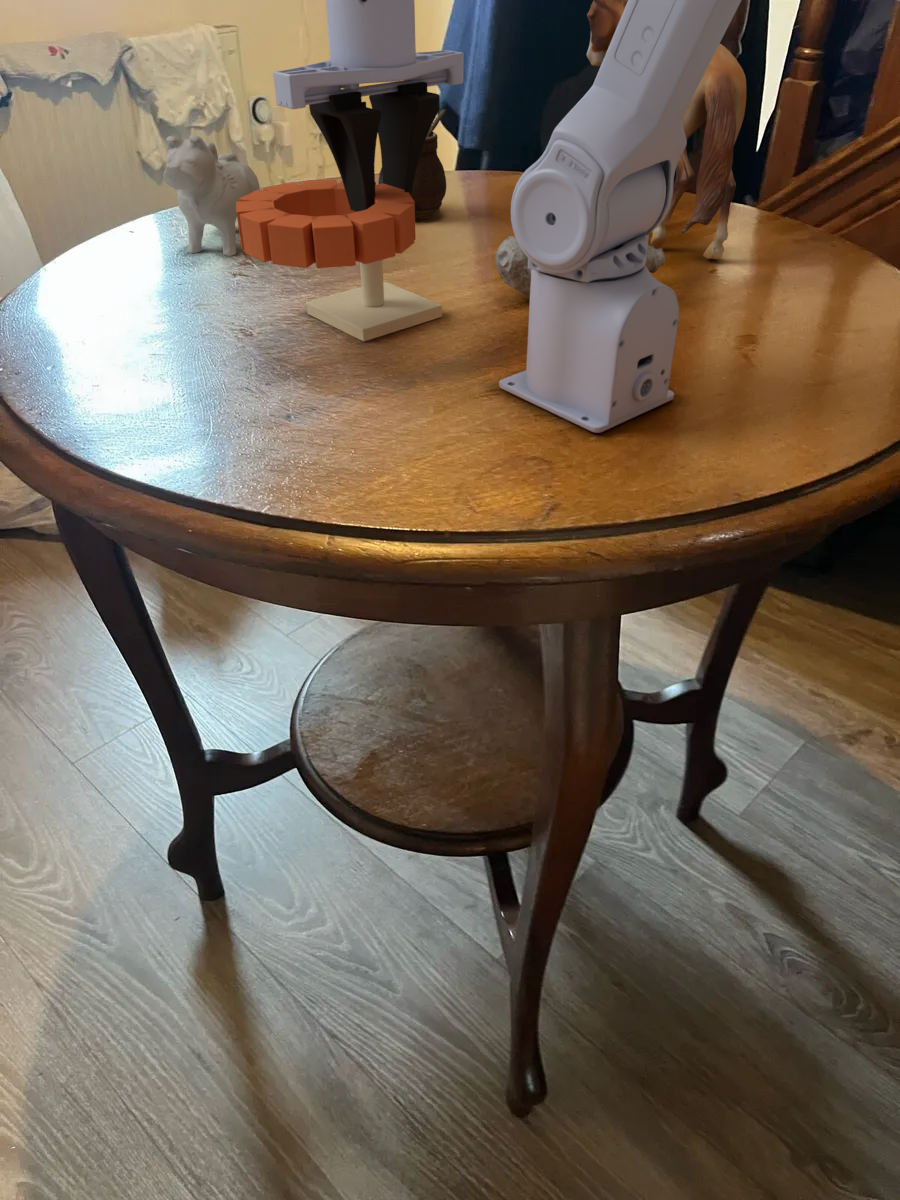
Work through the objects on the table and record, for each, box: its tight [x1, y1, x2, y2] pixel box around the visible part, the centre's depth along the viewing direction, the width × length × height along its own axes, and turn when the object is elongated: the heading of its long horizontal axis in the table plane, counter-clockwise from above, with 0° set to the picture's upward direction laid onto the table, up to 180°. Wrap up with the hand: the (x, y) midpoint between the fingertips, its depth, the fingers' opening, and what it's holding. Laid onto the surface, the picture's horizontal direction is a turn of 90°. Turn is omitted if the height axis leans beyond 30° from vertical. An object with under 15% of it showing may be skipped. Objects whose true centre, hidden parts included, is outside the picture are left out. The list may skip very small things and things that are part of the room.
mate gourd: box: [377, 107, 447, 221], centre depth 94 cm, size 7×8×10 cm
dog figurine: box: [162, 134, 261, 257], centre depth 86 cm, size 5×13×11 cm, turn 165°
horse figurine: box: [586, 0, 747, 260], centre depth 85 cm, size 31×8×21 cm, turn 13°
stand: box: [305, 260, 443, 343], centre depth 73 cm, size 8×8×6 cm
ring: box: [236, 178, 416, 269], centre depth 63 cm, size 12×12×3 cm
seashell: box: [494, 235, 667, 299], centre depth 76 cm, size 6×14×8 cm, turn 95°
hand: (380, 207), depth 66 cm, fingers closed on ring, 3 cm apart
